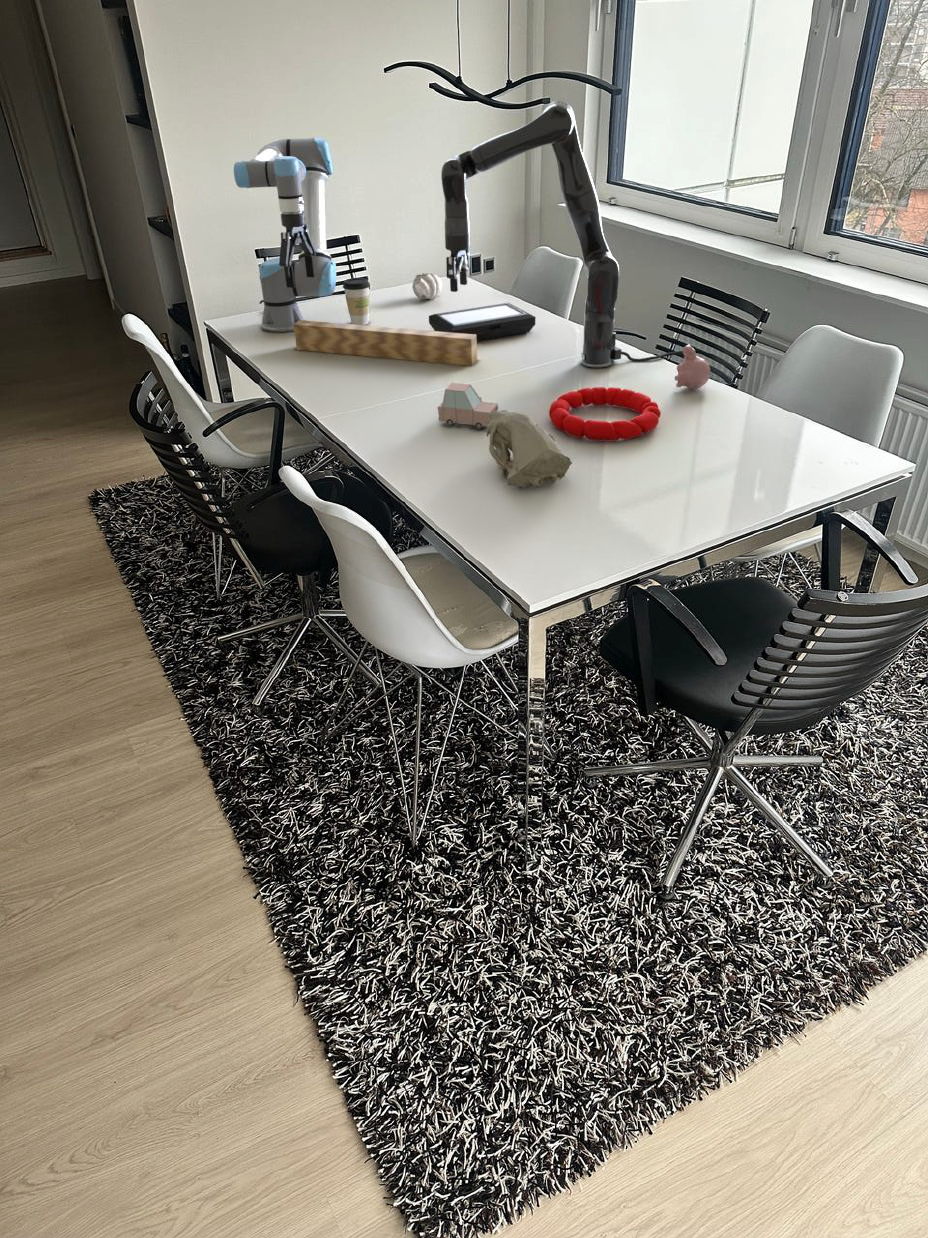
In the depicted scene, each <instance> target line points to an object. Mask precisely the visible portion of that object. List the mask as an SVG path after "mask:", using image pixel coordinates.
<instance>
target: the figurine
mask: <svg viewBox="0 0 928 1238" xmlns="http://www.w3.org/2000/svg"><path fill="white" fill-rule="evenodd" d="M682 351H683V353H684V354H683V358H684V359H683V361H682V362H679V363H678V364H677V365H676V372H677V375H675V376H674V381H675V382H676V381H677V382H676V384H675V386H676V388H681V387H686V388H688V389H693V390H694V389H695V390H696V389H700V388H703V387H704V386H705V385H706V384H707V383H708V382H709V379H710V377H711V367H710V364H709V362H708V361H706V359H704V358H702V357H700V356H697V353H696V350H695V349H694V347H692V345H690V344H686V345H685V346H684V347H683V348H682Z"/></svg>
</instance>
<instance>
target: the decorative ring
mask: <svg viewBox="0 0 928 1238" xmlns="http://www.w3.org/2000/svg"><path fill="white" fill-rule="evenodd" d="M583 405H584V406H586V407H587V406H591V405H593V406H604V405H608V406H614V407H619V408H624V409H628V410H632V411H635V412H636V413H638V414H639V415H637V416H635V417H632V418H631V419H630V420H625V419H624V420H623V419H622V420H614V421H611V422H609V421H607V420H606V421H605V420H593V419H587V420H586V421H585V419H584V418H582V417H579V416H577V415H573V414H571V413H570V410H571V409H579V408H581V407H582V406H583ZM548 416H549V419H550V422H551V423H552V425H553V426H554V427H555V428H556V429H558V430H559V431H561V432H563V433H567V434H568V435H569V436H573V437H576V438H580V439H582V438H583V437H585V438H586V439H587V440H591V441H601V442H602V441H603V442H608V441H609V442H610V441H611V442H612V441H615V442H616V441H618V440H630V439H634V438H638V437H641V436H642V434H647V433H650V432H651V431H653V430H654V429H655V428H656V427H657V426H658V424H659V422H660V421H659V420H660V417H661V410H660V408H659V405H658V403H657V402H656V401H652V399H651V397H649V396H648V395H646V394H644V393H642V392H635V391H634V390H632V389H628V388H624V389H622V388H620V387H613V386H612V387H611V386H610V387H608V388H606V387H604V386H594V387H585V388H584V387H583V388H580V389H578V390H571V391H568V392H565V393H563V394H561V395H560V396H558V397H557V398H556V400H554V401H552V403H551V404H550V407H549V409H548Z"/></svg>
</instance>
